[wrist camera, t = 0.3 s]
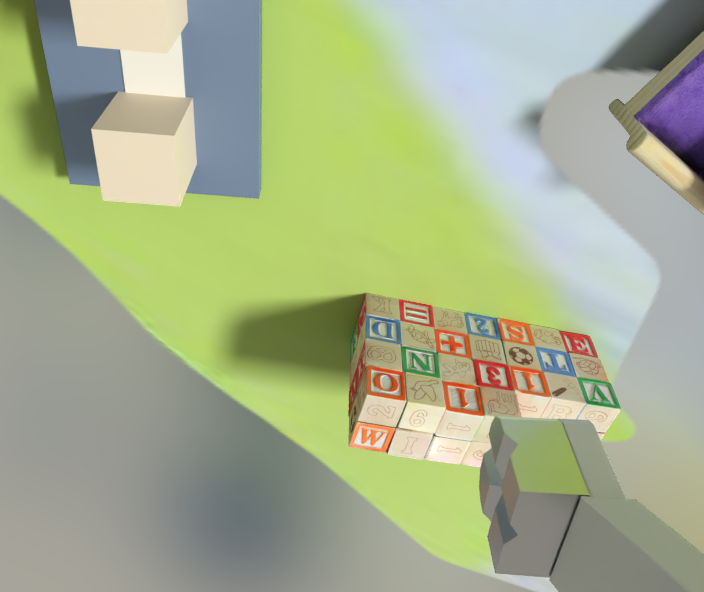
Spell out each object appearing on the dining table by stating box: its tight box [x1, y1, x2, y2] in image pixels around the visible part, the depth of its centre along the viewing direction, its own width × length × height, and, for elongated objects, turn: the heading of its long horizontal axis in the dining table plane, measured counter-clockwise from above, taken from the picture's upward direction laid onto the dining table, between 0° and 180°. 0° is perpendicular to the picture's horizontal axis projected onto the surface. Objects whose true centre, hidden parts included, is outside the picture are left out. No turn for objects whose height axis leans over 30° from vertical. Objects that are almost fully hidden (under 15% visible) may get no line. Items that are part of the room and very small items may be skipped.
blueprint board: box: [34, 0, 262, 206], centre depth 42 cm, size 20×14×8 cm
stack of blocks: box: [348, 293, 621, 467], centre depth 57 cm, size 21×6×12 cm, turn 77°
